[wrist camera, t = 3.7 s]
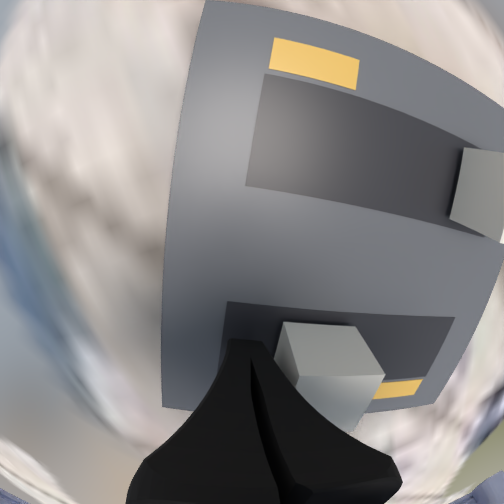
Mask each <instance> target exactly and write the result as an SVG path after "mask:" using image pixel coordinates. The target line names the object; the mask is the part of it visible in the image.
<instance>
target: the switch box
mask: <svg viewBox="0 0 504 504" xmlns="http://www.w3.org/2000/svg"><path fill="white" fill-rule="evenodd" d="M464 147H465V148H473V149H481V150H488V151H495V152H501V153H504V108H503V107H501V106H500V105H499V104H497V103H496V102H494V101H493V100H492V99H490V98H489V97H487V96H486V95H484V94H483V93H481V92H480V91H478V90H477V89H475V88H474V87H472V86H470V85H469V84H467V83H466V82H464V81H462V80H461V79H459V78H457V77H456V76H454V75H452V74H450V73H449V72H447V71H445V70H443V69H441V68H440V67H438V66H436V65H434V64H432V63H430V62H428V61H426V60H424V59H422V58H420V57H418V56H416V55H414V54H412V53H410V52H408V51H405V50H403V49H401V48H399V47H397V46H394V45H392V44H389V43H387V42H385V41H382V40H380V39H377V38H375V37H372V36H369V35H367V34H364V33H361V32H358V31H356V30H353V29H350V28H347V27H344V26H340V25H337V24H334V23H331V22H327V21H324V20H320V19H317V18H313V17H309V16H305V15H301V14H297V13H292V12H288V11H283V10H278V9H273V8H268V7H262V6H256V5H249V4H242V3H234V2H225V1H214V0H206V1H205V5H204V9H203V12H202V16H201V20H200V24H199V28H198V32H197V36H196V41H195V45H194V50H193V54H192V59H191V63H190V68H189V73H188V78H187V83H186V88H185V94H184V99H183V105H182V111H181V116H180V123H179V129H178V135H177V142H176V149H175V156H174V163H173V171H172V179H171V188H170V197H169V207H168V217H167V228H166V240H165V254H164V270H163V290H162V321H161V382H162V407H166V408H173V409H180V410H188V411H194V410H195V409H196V408H197V407H198V405H199V404H200V402H201V401H202V400H203V398H204V397H205V395H206V393H207V392H208V390H209V388H210V387H211V385H212V383H213V381H214V379H215V378H216V376H217V374H218V371H219V369H220V367H221V364H222V362H223V360H224V356H225V352H226V345H227V340H229V339H230V338H235V339H245V340H257V341H262V342H263V343H264V344H265V346H266V348H267V349H268V351H269V352H270V354H271V356H272V357H273V359H274V356H275V353H276V349H277V345H278V341H279V338H280V334H281V330H282V326H283V322H293V323H306V324H320V325H337V326H355V327H356V328H357V330H358V331H359V333H360V334H361V336H362V338H363V339H364V341H365V342H366V344H367V346H368V347H369V349H370V350H371V352H372V353H373V355H374V357H375V358H376V360H377V362H378V363H379V365H380V366H381V368H382V370H383V371H384V373H385V376H384V378H383V380H382V382H381V384H380V386H379V388H378V390H377V391H376V393H375V395H374V397H373V399H372V400H371V402H370V404H369V406H368V407H367V409H366V411H365V413H373V412H382V411H390V410H397V409H404V408H411V407H417V406H422V405H428V404H433V403H434V402H435V401H436V399H437V398H438V396H439V395H440V393H441V391H442V390H443V388H444V387H445V385H446V383H447V382H448V380H449V378H450V377H451V375H452V373H453V372H454V370H455V368H456V366H457V364H458V363H459V361H460V359H461V357H462V355H463V354H464V352H465V350H466V348H467V346H468V344H469V342H470V340H471V338H472V336H473V334H474V332H475V330H476V328H477V325H478V323H479V321H480V319H481V317H482V314H483V312H484V310H485V308H486V305H487V303H488V300H489V298H490V295H491V293H492V290H493V288H494V285H495V283H496V280H497V277H498V274H499V272H500V269H501V266H502V263H503V260H504V244H502V243H499V242H497V241H495V240H493V239H491V238H489V237H487V236H485V235H483V234H481V233H479V232H477V231H475V230H473V229H470V228H468V227H466V226H464V225H462V224H460V223H457V222H455V221H453V220H451V219H449V218H450V214H451V210H452V206H453V202H454V198H455V193H456V189H457V184H458V179H459V174H460V168H461V163H462V157H463V151H464Z"/></svg>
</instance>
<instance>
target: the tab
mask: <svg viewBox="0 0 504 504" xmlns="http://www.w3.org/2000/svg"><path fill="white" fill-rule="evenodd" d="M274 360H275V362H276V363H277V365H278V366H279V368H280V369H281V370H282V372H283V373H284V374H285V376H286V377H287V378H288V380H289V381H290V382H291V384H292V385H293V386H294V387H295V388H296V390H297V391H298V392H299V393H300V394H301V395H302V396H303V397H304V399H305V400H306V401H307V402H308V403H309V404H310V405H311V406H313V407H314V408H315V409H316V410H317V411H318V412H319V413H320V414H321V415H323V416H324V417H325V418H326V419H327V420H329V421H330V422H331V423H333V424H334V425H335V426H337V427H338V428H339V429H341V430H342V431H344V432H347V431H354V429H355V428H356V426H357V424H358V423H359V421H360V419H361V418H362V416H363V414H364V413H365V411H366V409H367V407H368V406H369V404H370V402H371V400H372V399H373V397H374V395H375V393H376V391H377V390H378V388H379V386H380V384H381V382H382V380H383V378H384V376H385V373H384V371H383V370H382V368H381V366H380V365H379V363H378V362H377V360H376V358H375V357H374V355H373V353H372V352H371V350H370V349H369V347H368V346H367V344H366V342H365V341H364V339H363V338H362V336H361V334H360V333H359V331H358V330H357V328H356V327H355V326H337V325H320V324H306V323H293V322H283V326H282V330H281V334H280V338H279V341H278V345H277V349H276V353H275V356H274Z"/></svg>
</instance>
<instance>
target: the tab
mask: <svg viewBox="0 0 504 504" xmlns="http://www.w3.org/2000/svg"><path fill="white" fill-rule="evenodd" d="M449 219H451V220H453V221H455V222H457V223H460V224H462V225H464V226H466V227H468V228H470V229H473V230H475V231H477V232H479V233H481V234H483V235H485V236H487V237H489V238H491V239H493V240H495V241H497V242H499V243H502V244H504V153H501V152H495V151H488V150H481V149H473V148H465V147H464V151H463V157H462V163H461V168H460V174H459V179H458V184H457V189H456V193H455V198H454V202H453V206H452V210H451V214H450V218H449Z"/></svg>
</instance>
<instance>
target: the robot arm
mask: <svg viewBox="0 0 504 504" xmlns="http://www.w3.org/2000/svg"><path fill="white" fill-rule="evenodd" d="M402 483H403V481H402V479H401V476H400V474H399V471H398V469H397V467H396V465H395V463H394V461H393V459H392V457H391V456H389V455H386V454H384V453H382V452H380V451H378V450H376V449H373V448H371V447H369V446H367V445H365V444H363V443H362V442H360V441H358V440H357V439H355V438H353V437H352V436H350V435H348V434H347V433H345V432H344V431H342V430H341V429H339V428H338V427H337V426H335V425H334V424H333V423H331V422H330V421H329V420H327V419H326V418H325V417H324V416H323V415H321V414H320V413H319V412H318V411H317V410H316V409H315V408H314V407H313V406H311V405H310V404H309V403H308V402H307V401H306V400H305V399H304V397H303V396H302V395H301V394H300V393H299V392H298V391H297V390H296V388H295V387H294V386H293V385H292V384H291V382H290V381H289V380H288V378H287V377H286V376H285V374H284V373H283V372H282V370H281V369H280V368H279V366H278V365H277V363H276V362H275V360H274V359H273V357H272V356H271V354H270V352H269V351H268V349H267V348H266V346H265V344H264V343H263V342H262V341H257V340H245V339H235V338H230V339H229V340H227V345H226V352H225V356H224V360H223V362H222V364H221V367H220V369H219V371H218V374H217V376H216V378H215V379H214V381H213V383H212V385H211V387H210V388H209V390H208V392H207V393H206V395H205V397H204V398H203V400H202V401H201V402H200V404H199V405H198V407H197V408H196V409H195V410H194V412H193V413H192V414H191V416H190V417H189V418H188V419H187V420H186V422H185V423H184V424H183V425H182V426H181V427H180V428H179V429H178V430H177V431H176V432H175V433H174V434H173V435H172V436H171V437H170V438H169V439H168V440H167V441H166V442H165V443H164V444H162V445H161V446H160V447H159V448H158V449H156V450H155V451H154V452H153V453H151V454H150V455H149V456H148V457H146V458H145V459H144V460H143V462H142V463H141V465H140V467H139V468H138V470H137V472H136V474H135V475H134V477H133V479H132V481H131V484H130V486H129V489H128V493H127V498H126V504H384V503H385V502H387V501H388V500H389V499H390V498H391V497H392V496H393V495H394V494H395V493H396V492H397V491H398V490H399V489H400V487H401V485H402ZM0 504H30V503H28V502H26V501H24V500H22V499H20V498H18V497H16V496H14V495H12V494H10V493H8V492H6V491H4V490H3V489H1V488H0ZM449 504H504V472H503V471H499V472H498V473H496V474H494V475H493V476H491V477H489V478H488V479H486V480H485V481H483V482H482V483H481V484H479V485H478V486H477V487H476V488H475V489H474V490H473V491H472V492H471V493H469V494H467V495H465V496H463V497H461V498H459V499H457V500H455V501H453V502H451V503H449Z"/></svg>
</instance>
